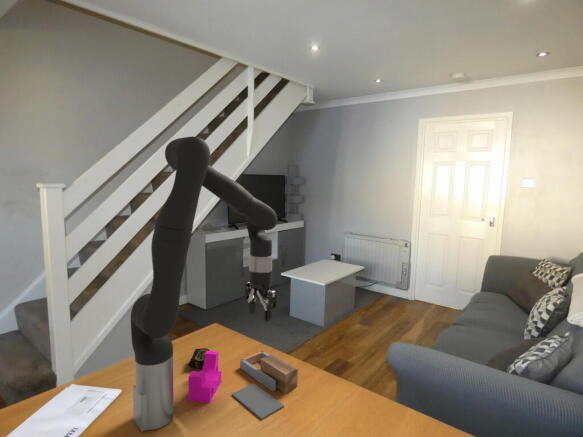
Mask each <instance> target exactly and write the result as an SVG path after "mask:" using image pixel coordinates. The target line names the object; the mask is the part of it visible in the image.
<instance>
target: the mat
mask: <svg viewBox="0 0 583 437" xmlns="http://www.w3.org/2000/svg"><path fill="white" fill-rule="evenodd" d="M231 396H232V397H233V398H235V399H236V400H237V401H238V402H239V403H240V404H242V405H243V406H244V407H245V408H246V409H248V410H249V411H250V412H251V413H252V414H253V415H255V416H256V417H257V418H258V419H260V420H261V421H263V420H264V419H266V418H268V417H269V416H271V415H273V414H274V413H276V412H279V411H280V410H282V409H283V408H285V405H284V404H283V403H282V402H281V401H279V400H277V398H275V397H273V396H272V395H271V394H269V392H266V390H264V389H262V387H260V386H259V385H258V384H256V383H251V384H249V385H248V386H245V387H243V388H241V389H238V390H237V391H234V392H232V393H231Z"/></svg>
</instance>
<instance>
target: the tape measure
mask: <svg viewBox="0 0 583 437" xmlns="http://www.w3.org/2000/svg"><path fill="white" fill-rule="evenodd" d="M207 351H211V350H210V349H209V348H205V347H203V348H202V347H201V348H195V349H194V351H193V353H192V356H191V357H190V360H189V363H188V364H187V366H188V367H190V368H193V369H194V368H197V369H202V368H203V365H204V359H205V353H206V352H207Z"/></svg>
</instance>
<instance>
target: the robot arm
mask: <svg viewBox="0 0 583 437" xmlns="http://www.w3.org/2000/svg"><path fill="white" fill-rule="evenodd" d="M164 158H165V160H166V162H167V164H168V166H170V168H171V169H172V170H174V171H175V176H174V181H173V185H172V189H171V191H170V193H169V195H168V196H167V199H166V200H165V202H164V204H163V205H162V207H161V208H160V211H159V212H158V215H157V217H156V220H155V222H154V229H153V233H152V237H151V247H150V248H151V250H150V251H151V262H152V263H151V264H152V274H153V276H152V278H153V279H152V286H151V290H150V293H146V294H143V295H142V296H140V297H138V299H136V301H135V302H134V304H133V305H132V307H131V308H132V309H131V310H130V332H131V334H130V335H131V336H130V337H131V345H132V346H131V347H132V349H133V352H134V368H135V369H134V373H135V374H134V375H135V378H134V379H135V385H133V386H132V399H133V400H132V402H133V403H132V406H133V421H134V422H135V424H136V426H137V427H138V429H139V430H140V432H142V433H143V432H145V431H151V430H159V429H160V428H163V427H165V426H167V424H169V423H170V422H172V420H173V418H174V414H175V412H174V411H175V406H174V344H173V342H172V340H171V337H170V335H169V333H170V332H172V330H173V328H174V327H175V326H176V322H177V320H178V315H179V310H180V309H179V308H180V297H181V289H182V280H183V276H184V271H185V266H186V261H187V256H188V252H189V248H190V243H191V239H192V233H193V227H194V223H195V222H194V221H195V219H196V218H195V217H196V214H197V210H198V209H197V208H198V203H199V199H200V194H201V190H202V187H203V188H205V189H206V190H208V191H209V192H211V193H212V195H214V196H216V197H217V198H219V199H220V200H221V201H222V202H223V203H225V204H226V206H228V207H229V208H231V209H232V210H233V211H234V212H236V213H237V214H239V215H241V216H244V217H246V218H245V224H246V228H247V229H246V230H247V234H248V239H249V242H250V244H249V245H250V246H249V248H250V249H249V260H248V281H247V282H245V283H244V299H245V300H247V303H248V313H249V314H250V315H253V314H255V313H256V300H259V301H260V303H261V305H262V306H263V309H264V311H263V312H264V313H263V314H264V315H263V321H264V322H269V321H271V319H272V310H276V309H277V300H278V298H277V291H276V290H271V287H270V285H271V284H272V283H273V257H272V256H273V242H272V239H271V237H269V236H267V234H266V231H271V230H273V229H274V228H275V227H276V226H277V224H278V214H277V213H276V211H275V210H274V209H273V208H272V207H271V206H269V205H268V204H266V203H264V202H263V201H261V200H260V199H258V198H256V197H254V196H253V195H252V194H251V192H249V191H248V190H247V189H245V188H244V187H243V186H242V185H241V184H239V182H237V181H236V180H234V179H232V178H230V177H228V176H226V175H224V174H223V173H221V172H220V171H219V170H216V168H214V167H212V166H211V165H210V161H211V151H210V147H209V145H208V143H207V141H206V140H204V139H203V138H202V137H199V136H185V137H179V138H178V137H177V138H175V139H173V140H171V141H170V142H169V143H168V144H167V145H166V147H165V150H164Z"/></svg>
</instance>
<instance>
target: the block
mask: <svg viewBox="0 0 583 437" xmlns="http://www.w3.org/2000/svg"><path fill="white" fill-rule="evenodd" d="M259 365H260V369H259V370H260V371H262V372H263V373H265V374H266V375H268V376H269V377H271V378H272V379H274V380H275V381H276V388H277V389H278V390H280V391H281V392H283V393H284V394H287V393H288V392H290V391H292V390H294V389H295V388H297V387H298V376H299V373H298V372H299V369H298V368H297V367H295V366H294V365H293V364H290V363H289V362H287V361H285V360H284V359H282V358H281V357H279V356H277V355H275V354H274V353H271V354H269V356H266V357H264V358H262V359H261V360H260V364H259Z"/></svg>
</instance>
